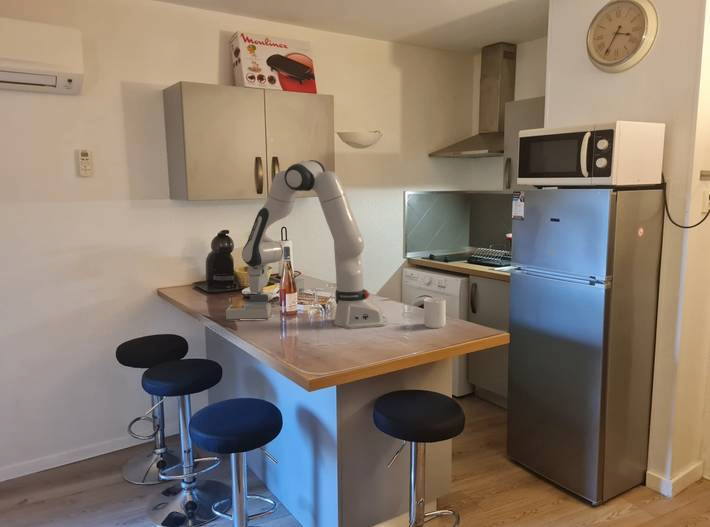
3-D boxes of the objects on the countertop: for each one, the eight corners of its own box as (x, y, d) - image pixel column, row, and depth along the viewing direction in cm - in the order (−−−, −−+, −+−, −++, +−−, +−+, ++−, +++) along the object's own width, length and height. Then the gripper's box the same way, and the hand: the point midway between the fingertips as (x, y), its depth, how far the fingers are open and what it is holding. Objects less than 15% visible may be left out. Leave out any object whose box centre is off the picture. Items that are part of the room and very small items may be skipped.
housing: (271, 314, 246) (270, 300, 245) (267, 320, 235) (267, 305, 234) (231, 315, 246) (230, 301, 245) (226, 321, 235) (225, 306, 234)
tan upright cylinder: (243, 314, 242) (242, 297, 241) (241, 316, 238) (240, 298, 237) (234, 314, 242) (233, 297, 241) (232, 316, 238) (231, 299, 237)
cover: (268, 302, 245) (268, 294, 244) (265, 307, 235) (264, 299, 235) (250, 303, 245) (250, 295, 244) (246, 308, 235) (246, 299, 235)
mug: (453, 323, 222) (453, 297, 220) (438, 329, 212) (438, 303, 211) (435, 320, 227) (435, 295, 225) (419, 326, 218) (419, 300, 216)
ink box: (281, 304, 265) (280, 281, 263) (290, 301, 273) (288, 278, 271) (297, 305, 262) (296, 281, 260) (305, 302, 270) (304, 278, 268)
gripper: (257, 265, 254) (258, 293, 256) (246, 272, 234) (247, 303, 236) (270, 264, 254) (271, 293, 256) (260, 272, 234) (261, 303, 236)
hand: (260, 298), depth 246 cm, fingers closed
